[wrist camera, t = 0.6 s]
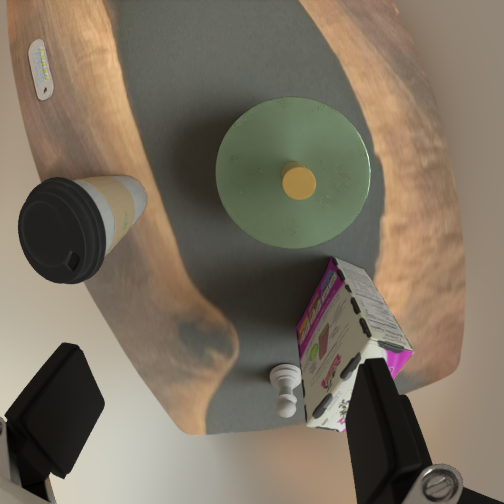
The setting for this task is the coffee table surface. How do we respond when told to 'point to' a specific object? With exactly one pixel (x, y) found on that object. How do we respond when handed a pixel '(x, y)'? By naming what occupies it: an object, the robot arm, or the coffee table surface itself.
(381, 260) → the coffee table surface
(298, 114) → the lid
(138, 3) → the coffee table surface
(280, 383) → the chess piece
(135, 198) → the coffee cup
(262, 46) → the coffee table surface
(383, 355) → the candy bar box
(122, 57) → the coffee table surface
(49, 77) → the keychain
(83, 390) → the robot arm
